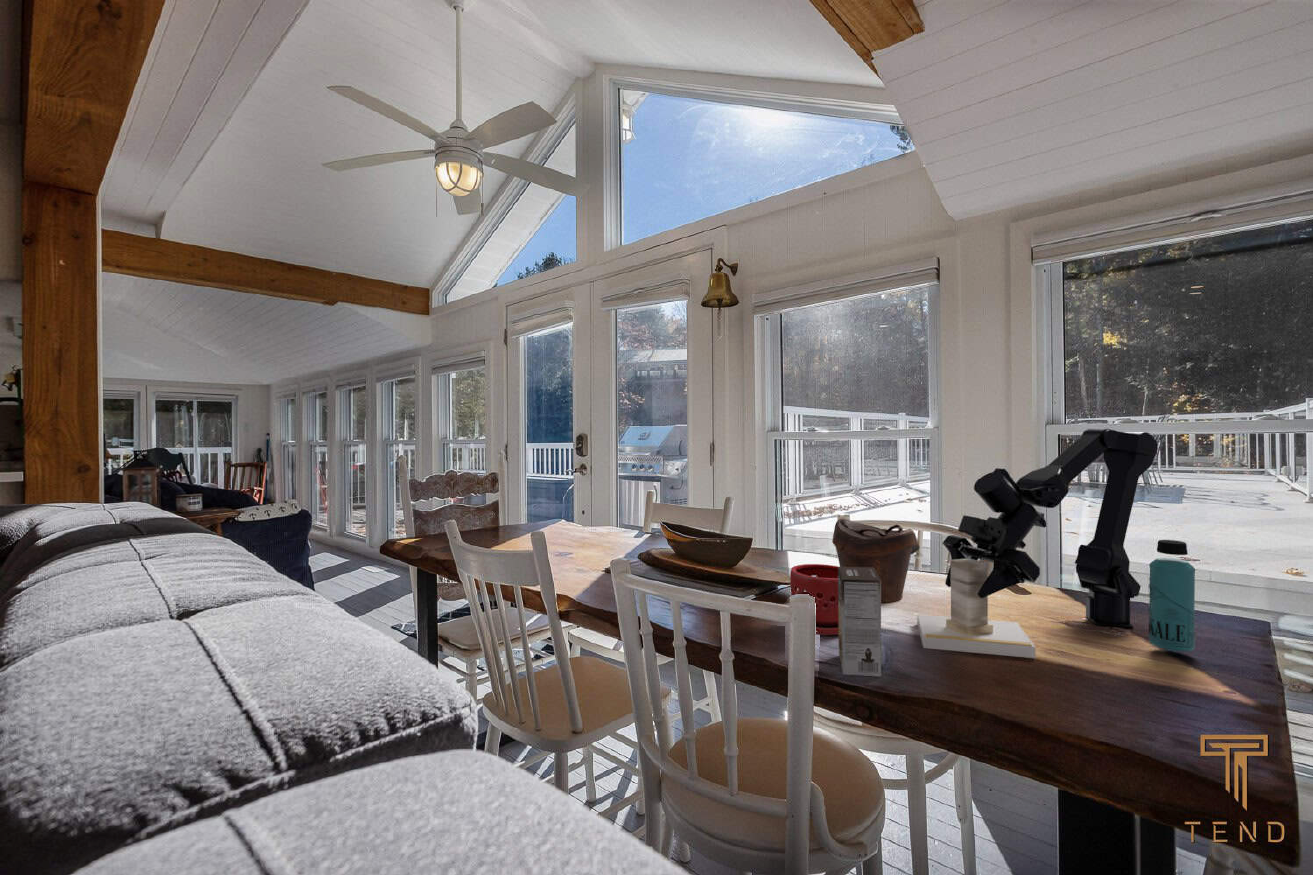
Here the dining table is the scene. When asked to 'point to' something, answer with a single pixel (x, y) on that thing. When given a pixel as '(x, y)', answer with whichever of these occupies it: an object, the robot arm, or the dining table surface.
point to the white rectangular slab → (975, 638)
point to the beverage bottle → (1172, 599)
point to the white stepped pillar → (968, 598)
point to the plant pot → (819, 593)
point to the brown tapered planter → (877, 553)
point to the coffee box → (859, 621)
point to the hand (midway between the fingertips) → (962, 590)
